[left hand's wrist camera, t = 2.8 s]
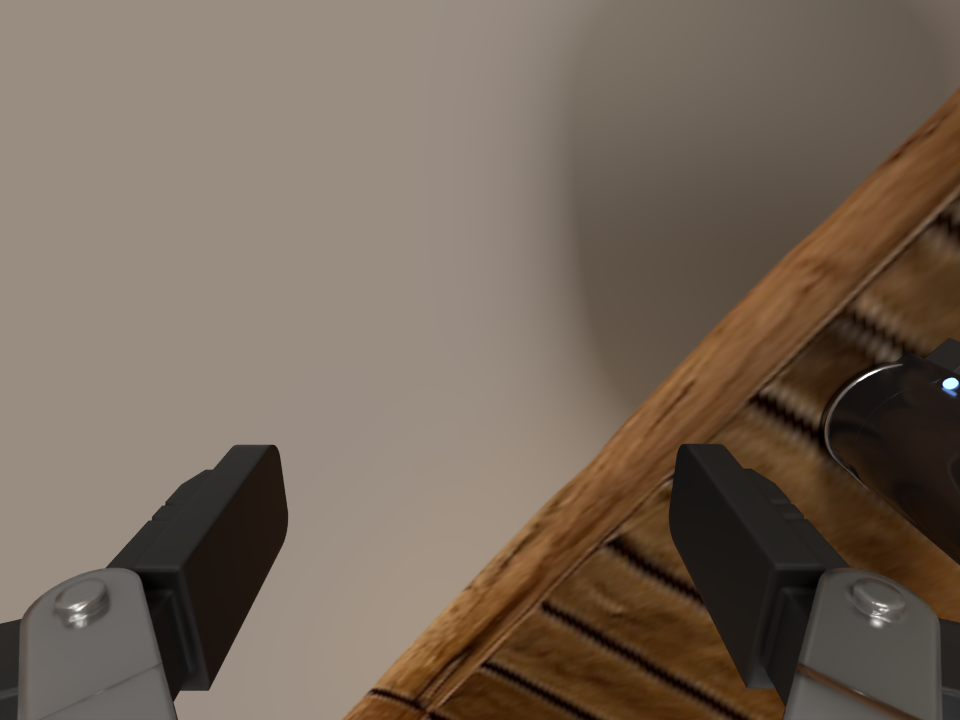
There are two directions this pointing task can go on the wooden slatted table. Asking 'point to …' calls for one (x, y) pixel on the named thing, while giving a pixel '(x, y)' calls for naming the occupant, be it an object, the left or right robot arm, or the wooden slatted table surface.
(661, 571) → the wooden slatted table surface
